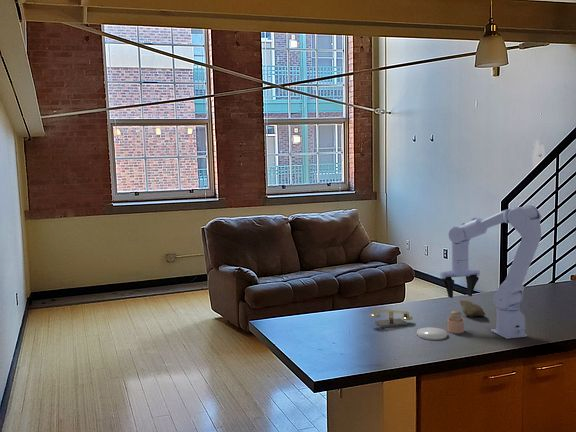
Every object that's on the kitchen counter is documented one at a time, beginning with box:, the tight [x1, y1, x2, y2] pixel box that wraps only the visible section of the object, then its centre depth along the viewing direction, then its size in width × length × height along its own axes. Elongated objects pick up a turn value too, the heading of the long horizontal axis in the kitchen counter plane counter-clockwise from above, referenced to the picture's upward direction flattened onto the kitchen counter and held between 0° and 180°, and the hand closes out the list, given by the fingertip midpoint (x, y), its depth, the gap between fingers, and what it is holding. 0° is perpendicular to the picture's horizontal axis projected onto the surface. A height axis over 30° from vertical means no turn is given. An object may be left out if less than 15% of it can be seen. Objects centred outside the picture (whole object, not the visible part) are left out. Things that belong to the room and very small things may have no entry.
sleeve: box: [446, 317, 465, 334], centre depth 204 cm, size 6×6×4 cm
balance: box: [368, 308, 414, 329], centre depth 213 cm, size 6×17×6 cm, turn 103°
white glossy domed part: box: [416, 326, 448, 341], centre depth 200 cm, size 10×10×1 cm
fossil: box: [459, 298, 486, 318], centre depth 222 cm, size 9×4×10 cm
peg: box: [450, 310, 462, 322], centre depth 204 cm, size 3×3×6 cm
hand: (460, 296), depth 213 cm, fingers open, 7 cm apart
